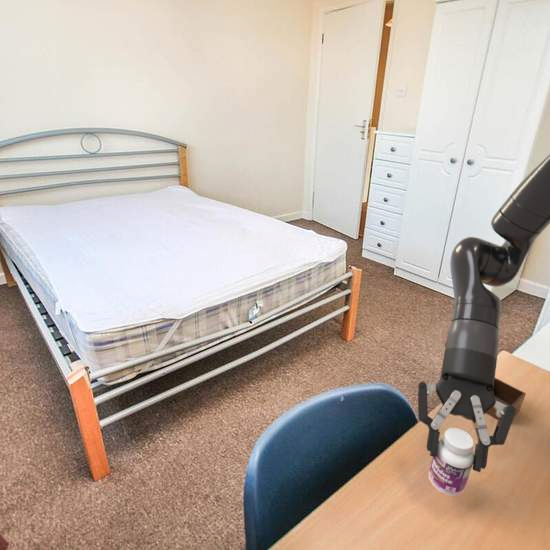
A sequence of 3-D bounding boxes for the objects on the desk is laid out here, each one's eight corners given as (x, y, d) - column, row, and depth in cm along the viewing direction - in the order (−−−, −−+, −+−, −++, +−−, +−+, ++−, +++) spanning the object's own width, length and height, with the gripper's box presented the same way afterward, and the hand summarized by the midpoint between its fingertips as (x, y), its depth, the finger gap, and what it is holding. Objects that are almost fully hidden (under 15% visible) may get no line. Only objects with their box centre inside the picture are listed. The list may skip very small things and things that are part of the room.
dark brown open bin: (487, 392, 86) (492, 376, 85) (519, 410, 82) (526, 393, 80) (473, 405, 82) (478, 388, 81) (505, 424, 78) (512, 407, 76)
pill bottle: (422, 482, 60) (433, 437, 56) (435, 461, 64) (447, 418, 60) (457, 504, 57) (471, 459, 53) (469, 481, 61) (483, 437, 57)
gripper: (425, 336, 61) (404, 447, 56) (529, 360, 56) (517, 484, 50) (421, 347, 67) (403, 446, 62) (514, 368, 62) (502, 479, 57)
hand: (454, 463), depth 56 cm, fingers closed on pill bottle, 5 cm apart
